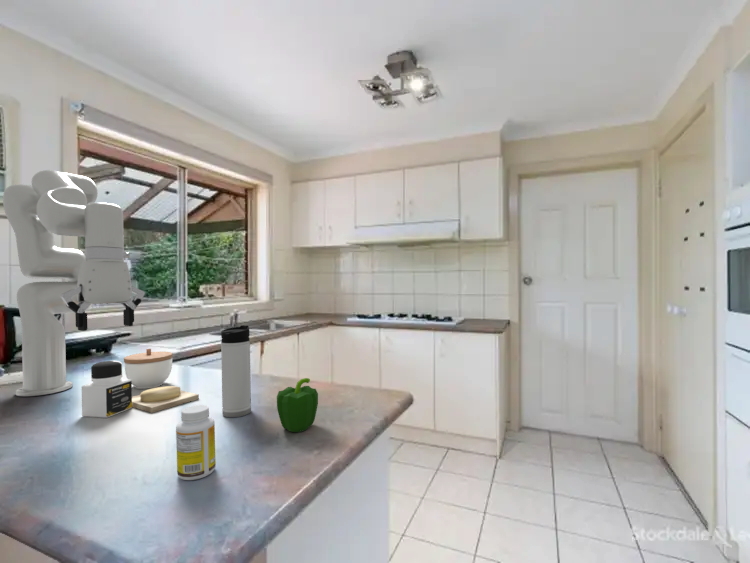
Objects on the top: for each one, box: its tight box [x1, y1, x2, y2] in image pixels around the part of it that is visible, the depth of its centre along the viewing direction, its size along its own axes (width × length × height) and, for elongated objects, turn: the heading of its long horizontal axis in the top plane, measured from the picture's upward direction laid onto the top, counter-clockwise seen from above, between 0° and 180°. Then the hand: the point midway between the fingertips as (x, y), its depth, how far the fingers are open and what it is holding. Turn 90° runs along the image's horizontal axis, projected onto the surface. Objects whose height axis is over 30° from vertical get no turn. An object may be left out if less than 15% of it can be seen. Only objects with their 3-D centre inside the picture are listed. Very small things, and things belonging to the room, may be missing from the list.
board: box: [132, 385, 200, 414], centre depth 99 cm, size 14×12×3 cm
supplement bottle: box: [175, 404, 217, 481], centre depth 61 cm, size 6×6×10 cm
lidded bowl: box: [123, 348, 174, 390], centre depth 115 cm, size 13×13×11 cm
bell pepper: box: [276, 377, 319, 433], centre depth 79 cm, size 8×8×10 cm
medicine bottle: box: [81, 360, 133, 419], centre depth 91 cm, size 7×7×12 cm
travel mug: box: [220, 324, 252, 418], centre depth 89 cm, size 6×7×20 cm
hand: (106, 327), depth 91 cm, fingers open, 9 cm apart
